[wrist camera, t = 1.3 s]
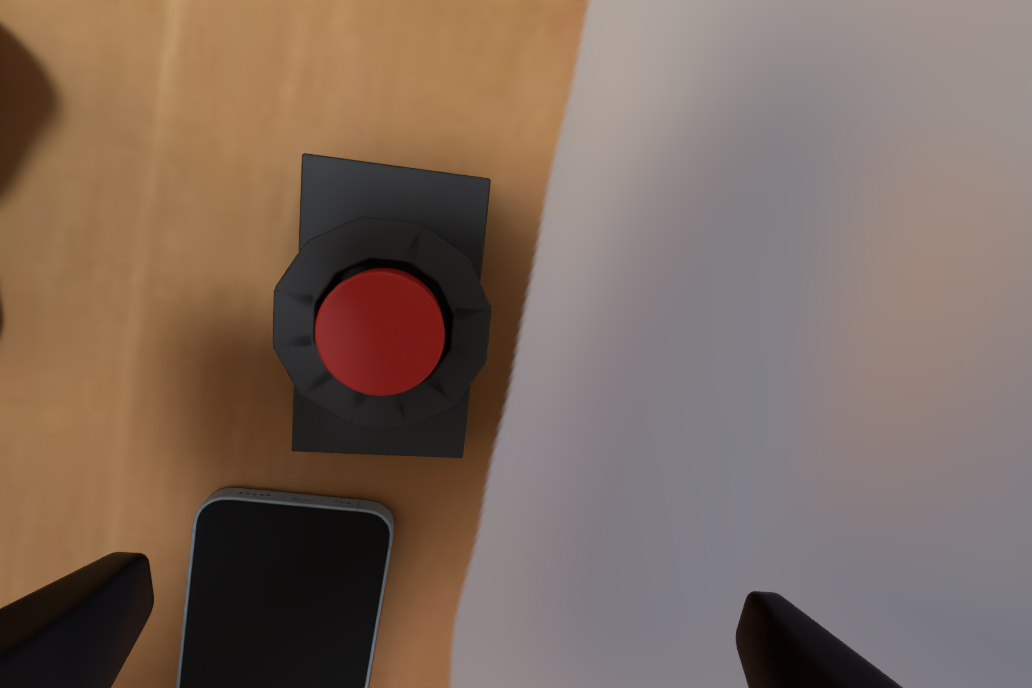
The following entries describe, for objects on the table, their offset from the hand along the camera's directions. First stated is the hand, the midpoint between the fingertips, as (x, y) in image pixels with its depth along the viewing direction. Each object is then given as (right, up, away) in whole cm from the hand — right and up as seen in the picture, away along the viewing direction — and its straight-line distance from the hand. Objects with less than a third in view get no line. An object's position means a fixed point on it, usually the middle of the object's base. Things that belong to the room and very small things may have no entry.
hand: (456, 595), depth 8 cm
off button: (-3, +4, +9) cm, 10 cm away
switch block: (-4, +5, +12) cm, 14 cm away
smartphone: (-9, -9, +14) cm, 19 cm away
